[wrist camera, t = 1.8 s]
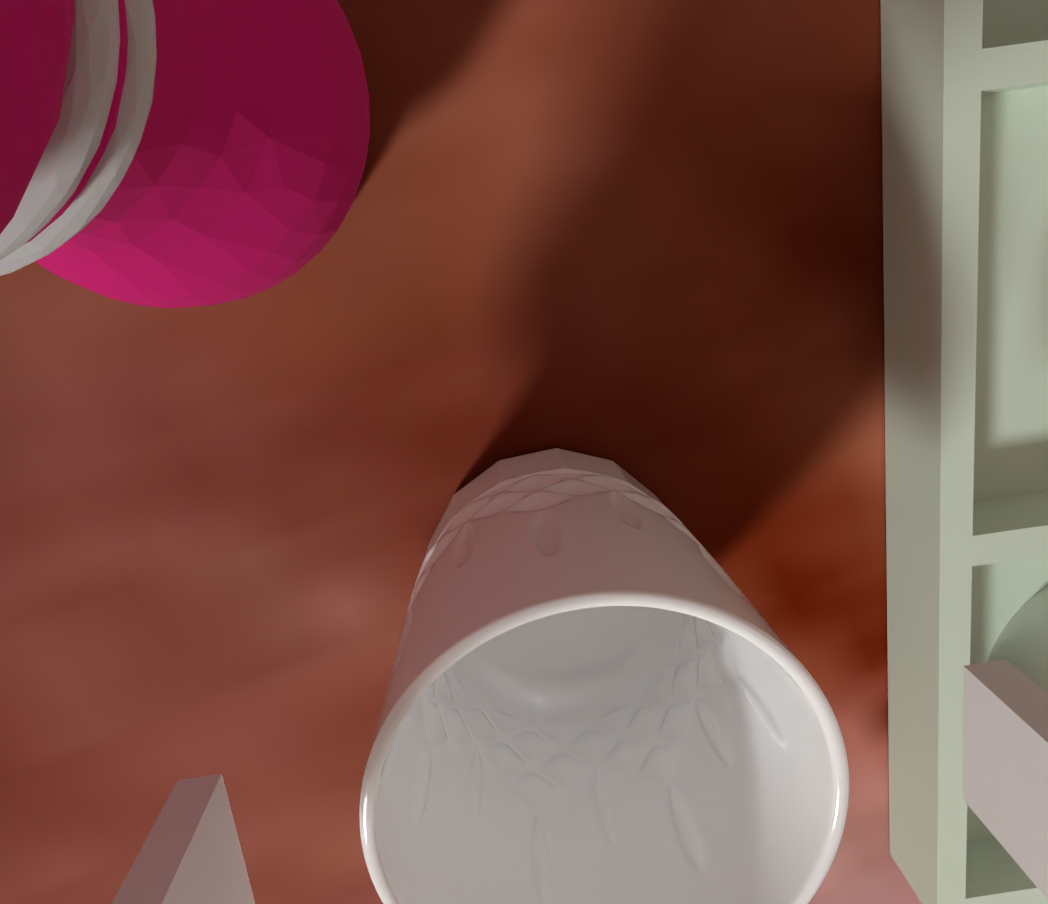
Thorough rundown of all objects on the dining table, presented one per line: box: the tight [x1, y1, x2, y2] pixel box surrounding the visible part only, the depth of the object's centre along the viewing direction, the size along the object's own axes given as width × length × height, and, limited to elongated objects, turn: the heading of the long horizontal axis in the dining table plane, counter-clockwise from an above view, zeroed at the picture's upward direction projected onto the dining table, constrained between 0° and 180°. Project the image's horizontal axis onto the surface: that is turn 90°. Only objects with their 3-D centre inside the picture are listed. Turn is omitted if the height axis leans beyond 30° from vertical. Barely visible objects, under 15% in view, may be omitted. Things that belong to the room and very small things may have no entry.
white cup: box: [359, 448, 849, 904], centre depth 19 cm, size 8×8×10 cm
